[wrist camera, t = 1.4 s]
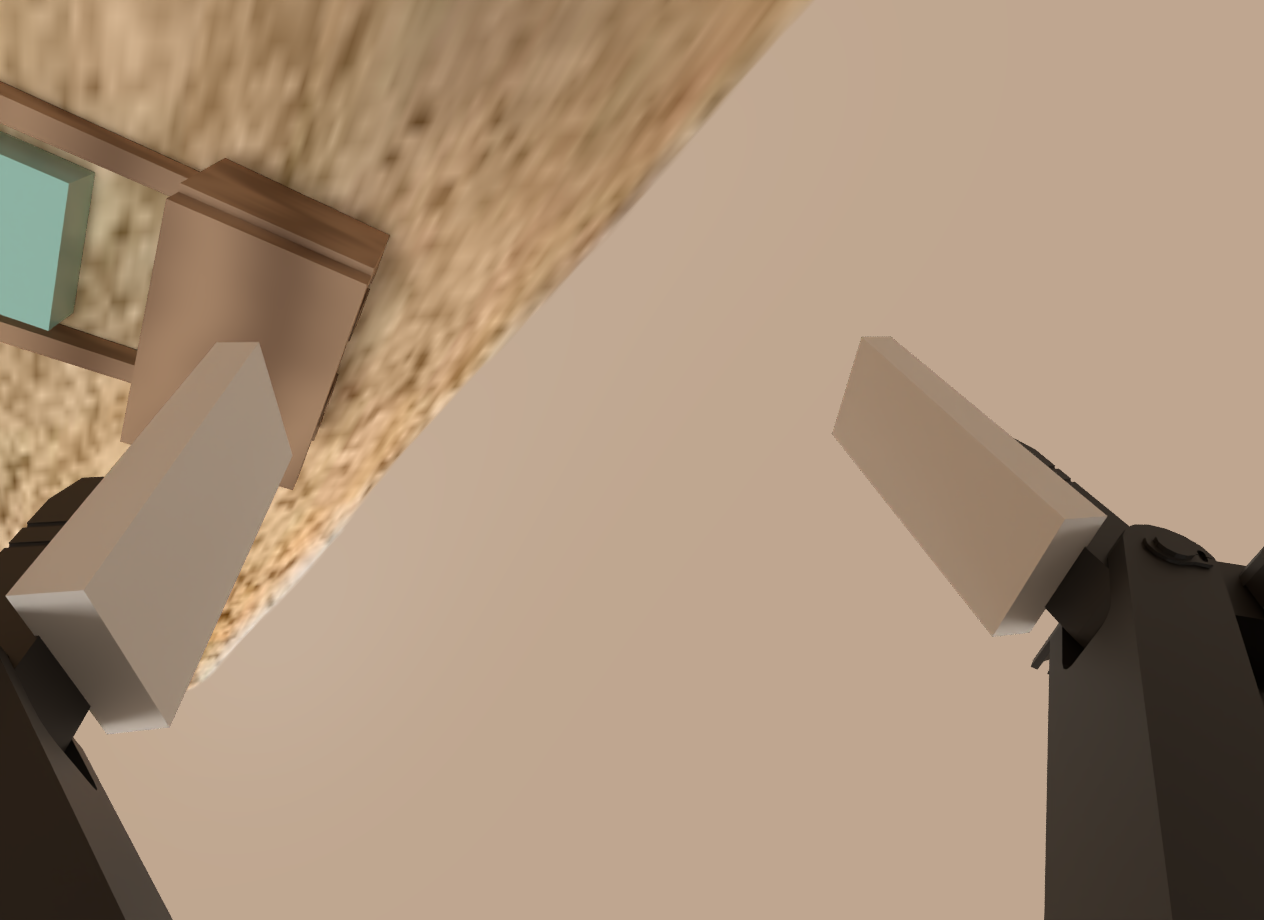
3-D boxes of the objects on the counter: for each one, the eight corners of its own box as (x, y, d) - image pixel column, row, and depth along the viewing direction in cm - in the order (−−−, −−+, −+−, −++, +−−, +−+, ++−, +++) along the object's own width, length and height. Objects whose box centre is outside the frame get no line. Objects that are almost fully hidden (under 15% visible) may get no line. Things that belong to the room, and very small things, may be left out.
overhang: (-243, 245, 29) (-407, 297, 24) (-281, -80, 23) (-510, -106, 18) (319, 427, 40) (291, 492, 35) (389, 235, 34) (370, 277, 29)
